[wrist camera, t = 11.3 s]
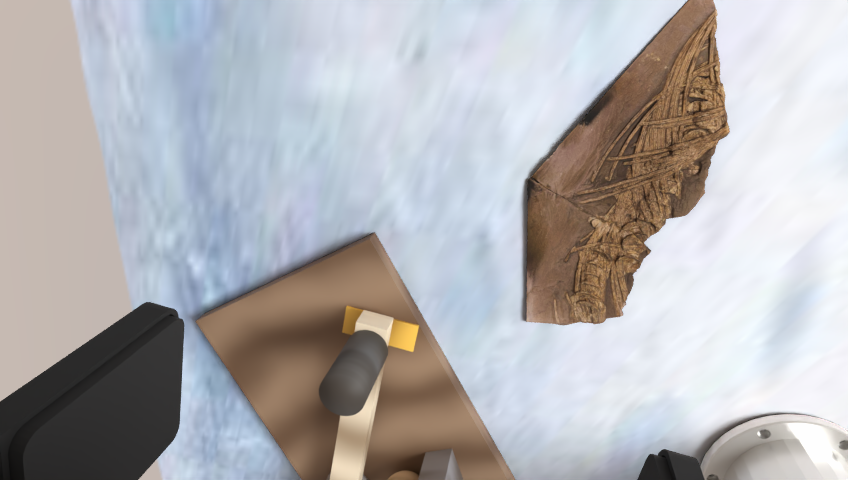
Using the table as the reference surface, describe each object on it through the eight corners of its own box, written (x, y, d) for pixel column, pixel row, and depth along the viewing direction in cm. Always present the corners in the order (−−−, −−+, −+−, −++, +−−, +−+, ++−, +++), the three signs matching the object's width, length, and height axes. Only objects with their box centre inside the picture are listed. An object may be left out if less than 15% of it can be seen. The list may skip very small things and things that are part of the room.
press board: (519, 485, 51) (515, 546, 45) (351, 533, 57) (328, 592, 51) (374, 232, 45) (349, 263, 39) (204, 313, 51) (159, 351, 45)
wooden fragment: (594, 352, 46) (595, 359, 45) (469, 291, 46) (467, 296, 45) (805, 34, 36) (812, 34, 35) (643, -41, 36) (646, -43, 35)
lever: (362, 524, 53) (331, 610, 45) (321, 511, 53) (283, 594, 45) (405, 317, 45) (375, 378, 37) (355, 304, 45) (316, 361, 37)
